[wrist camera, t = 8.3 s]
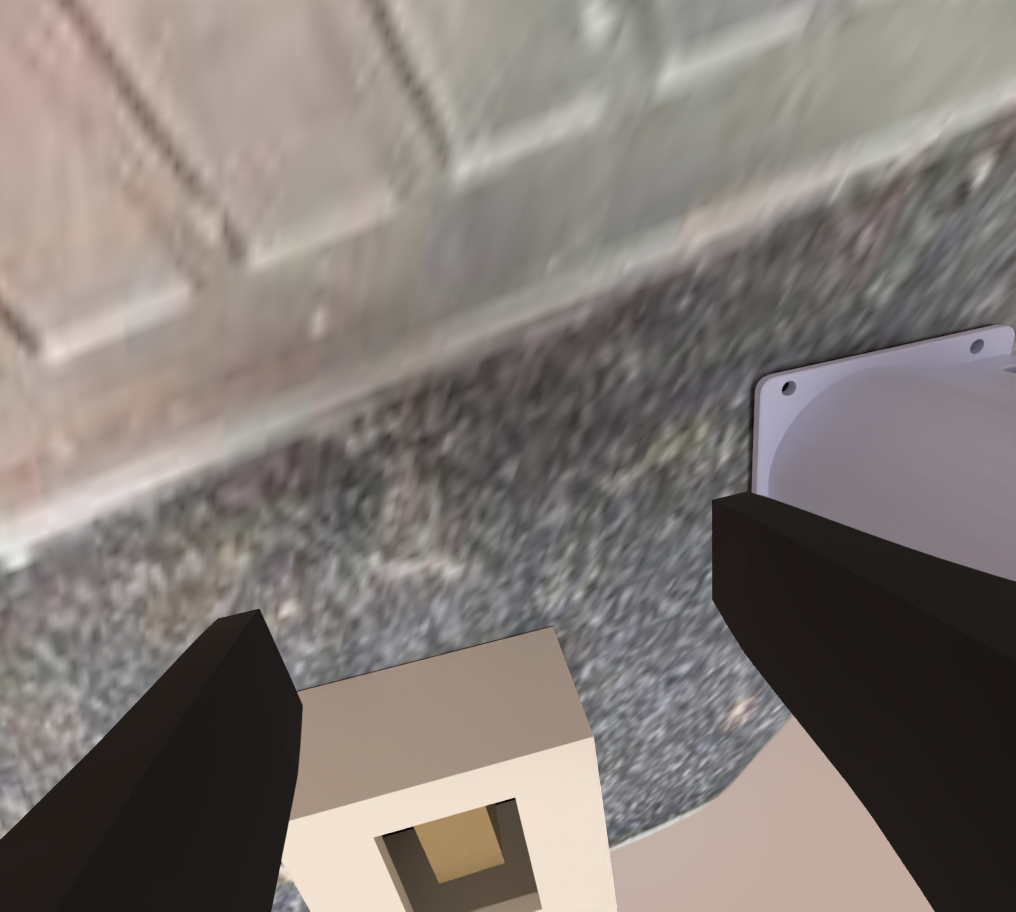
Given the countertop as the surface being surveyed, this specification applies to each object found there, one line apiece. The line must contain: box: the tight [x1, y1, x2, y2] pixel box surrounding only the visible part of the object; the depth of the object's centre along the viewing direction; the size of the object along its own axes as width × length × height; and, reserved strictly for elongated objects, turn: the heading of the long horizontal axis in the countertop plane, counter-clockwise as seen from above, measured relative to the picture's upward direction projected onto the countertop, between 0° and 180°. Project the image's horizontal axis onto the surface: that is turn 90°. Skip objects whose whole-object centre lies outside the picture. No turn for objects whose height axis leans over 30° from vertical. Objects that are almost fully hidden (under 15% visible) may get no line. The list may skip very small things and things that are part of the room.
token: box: [413, 803, 505, 884], centre depth 21 cm, size 2×4×4 cm, turn 12°
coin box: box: [281, 627, 617, 912], centre depth 21 cm, size 10×10×5 cm
